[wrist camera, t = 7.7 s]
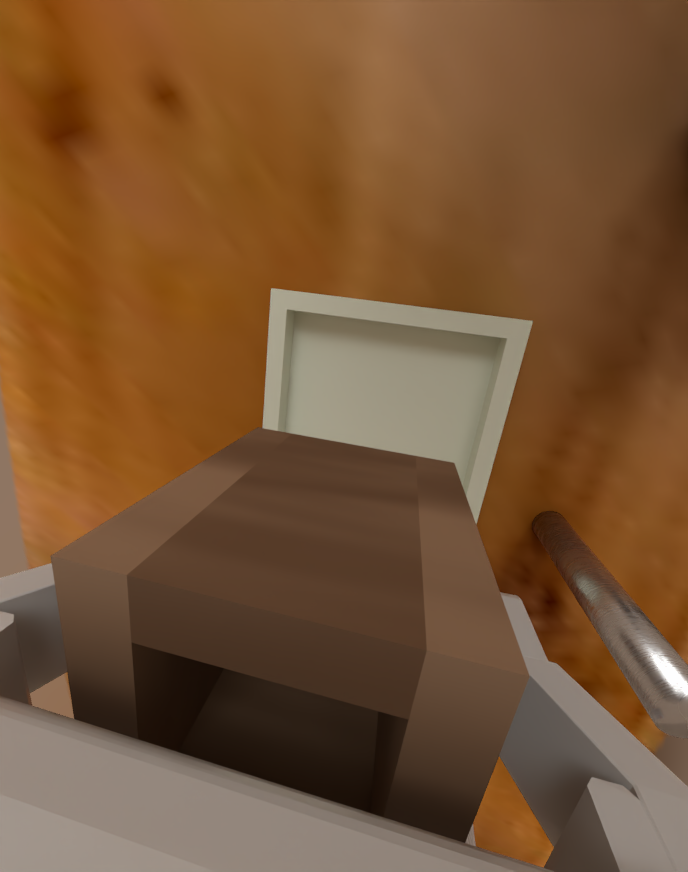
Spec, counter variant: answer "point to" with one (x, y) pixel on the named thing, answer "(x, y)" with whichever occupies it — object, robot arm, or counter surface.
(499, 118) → the counter surface
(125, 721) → the walnut block
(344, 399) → the sage dish
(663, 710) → the rod
